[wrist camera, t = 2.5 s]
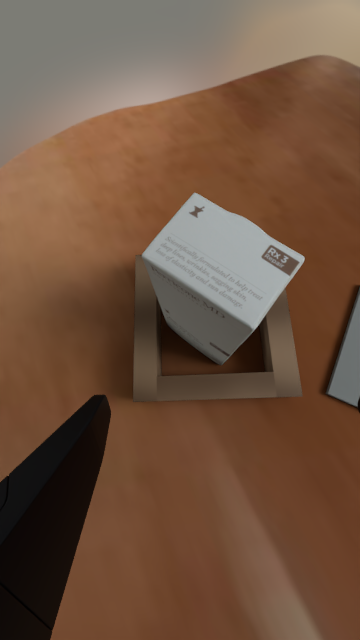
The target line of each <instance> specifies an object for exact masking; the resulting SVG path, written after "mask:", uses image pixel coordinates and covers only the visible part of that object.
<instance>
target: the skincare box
mask: <svg viewBox="0 0 360 640" xmlns="http://www.w3.org/2000/svg"><path fill="white" fill-rule="evenodd" d="M142 259H143V261H144V264H145V266H146V268H147V271H148V274H149V277H150V279H151V282H152V285H153V288H154V290H155V293H156V296H157V298H158V301H159V304H160V307H161V309H162V312H163V315H164V317H165V320H166V323H167V325H168V326H169V327H170V328H171V329H172V330H173V331H174V332H175V333H177V334H178V335H179V336H180V337H181V338H183V339H184V340H185V341H186V342H188V343H189V344H190V345H192V346H193V347H194V348H196V349H197V350H198V351H200V352H201V353H203V354H204V355H205V356H207V357H208V358H210V359H211V360H213V361H214V362H216V363H217V364H219V365H223V363H224V362H225V361H226V360H227V359H228V358H229V357H230V356H231V355H232V354H233V353H234V351H235V350H236V349H237V348H238V347H239V346H240V345H241V344H242V343H243V342H244V341H245V340H246V339H247V338H248V337H249V336H250V335H251V334H252V333H253V331H254V330H255V329H256V328H257V327H258V325H259V324H260V322H261V321H262V319H263V318H264V317H265V315H266V314H267V312H268V311H269V309H270V308H271V307H272V305H273V304H274V302H275V301H276V299H277V298H278V297H279V295H280V294H281V293H282V291H283V290H284V288H285V287H286V286H287V284H288V283H289V282H290V280H291V279H292V278H293V276H294V275H295V273H296V272H297V271H298V269H299V268H300V266H301V265H302V264H303V262H304V260H305V259H304V256H302V255H301V254H299V253H297V252H295V251H294V250H292V249H290V248H288V247H287V246H285V245H283V244H282V243H280V242H278V241H276V240H275V239H273V238H271V237H270V236H268V235H267V234H266V233H265V232H264V231H263V230H261V229H260V228H259V227H258V226H256V225H255V224H254V223H252V222H251V221H249V220H247V219H246V218H244V217H242V216H239V215H237V214H234V213H230V212H228V211H226V210H224V209H223V208H221V207H219V206H217V205H216V204H214V203H212V202H211V201H209V200H207V199H206V198H204V197H202V196H201V195H199V194H197V193H194V194H193V195H192V196H191V197H190V198H189V199H188V200H187V201H186V203H185V204H184V205H183V206H182V207H181V208H180V210H179V211H178V212H177V213H176V214H175V215H174V217H173V218H172V219H171V220H170V221H169V222H168V224H167V225H166V226H165V227H164V228H163V229H162V230H161V232H160V233H159V234H158V235H157V236H156V238H155V239H154V240H153V241H152V242H151V244H150V245H149V246H148V248H147V249H146V250H145V251H144V253H143V254H142Z"/></svg>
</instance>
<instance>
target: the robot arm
mask: <svg viewBox="0 0 360 640" xmlns="http://www.w3.org/2000/svg"><path fill="white" fill-rule="evenodd" d="M357 405H358V410H359V412H360V397H359V400H358V404H357ZM110 418H111V410H110V406H109V403H108V400H107V397H106V395H94V396H92V397H91V398H90V399H89V400H88V401H87V402H86V403H85V404H84V405H83V406H82V407H81V408H79V409H78V410H77V411H76V412H75V413H74V414H73V415H72V416H71V417H70V418H69V419H68V420H67V421H66V422H64V423H63V424H62V425H61V426H60V427H59V428H58V429H57V430H56V431H55V432H54V433H53V434H52V435H51V436H50V437H48V438H47V439H46V440H45V441H44V442H43V443H42V444H41V445H40V446H39V447H38V448H37V449H36V450H35V451H33V452H32V453H31V454H30V455H29V456H28V457H27V458H26V459H25V460H24V461H23V462H22V463H21V464H20V465H18V466H17V467H16V468H15V469H14V470H13V471H12V472H11V473H10V474H9V476H7V477H5V478H4V479H3V480H2V481H1V482H0V640H50V638H51V635H52V631H51V630H53V627H54V624H55V620H56V617H57V614H58V610H59V607H60V603H61V600H62V597H63V593H64V590H65V586H66V583H67V580H68V576H69V573H70V569H71V566H72V563H73V559H74V556H75V552H76V549H77V546H78V542H79V539H80V535H81V532H82V529H83V525H84V522H85V518H86V515H87V511H88V508H89V505H90V501H91V498H92V494H93V491H94V488H95V484H96V481H97V477H98V474H99V471H100V467H101V464H102V460H103V456H104V451H105V445H106V440H107V434H108V429H109V423H110Z"/></svg>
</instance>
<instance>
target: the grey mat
mask: <svg viewBox="0 0 360 640" xmlns="http://www.w3.org/2000/svg"><path fill="white" fill-rule="evenodd" d="M326 394H328V395H330V396H332V397H334V398H337V399H339V400H341V401H344V402H346V403H348V404H350V405H353V406H355V407H357V408H358V405H357V404H358V400H359V397H360V287H359V291H358V294H357V297H356V300H355V303H354V306H353V309H352V313H351V316H350V319H349V322H348V325H347V328H346V331H345V335H344V338H343V341H342V344H341V347H340V350H339V353H338V357H337V360H336V363H335V366H334V369H333V372H332V375H331V378H330V382H329V385H328V388H327V391H326Z"/></svg>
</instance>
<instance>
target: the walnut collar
mask: <svg viewBox="0 0 360 640" xmlns="http://www.w3.org/2000/svg"><path fill="white" fill-rule="evenodd" d="M259 327H260V335H261V343H262V351H263V359H264V367H265V372H257V373H231V374H205V375H180V376H162V367H161V307H160V304H159V301H158V298H157V296H156V293H155V290H154V288H153V285H152V282H151V279H150V277H149V274H148V271H147V268H146V266H145V264H144V261H143V259H142V255H136V264H135V319H134V374H133V402H144V401H175V400H206V399H237V398H268V397H299V396H302V389H301V383H300V377H299V370H298V364H297V358H296V352H295V345H294V339H293V333H292V326H291V320H290V314H289V307H288V301H287V295H286V289H285V288H284V290H283V291H282V293H281V294H280V295H279V297H278V298H277V299H276V301H275V302H274V304H273V305H272V307H271V308H270V309H269V311H268V312H267V314H266V315H265V317H264V318H263V319H262V321H261V322H260V324H259Z"/></svg>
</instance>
